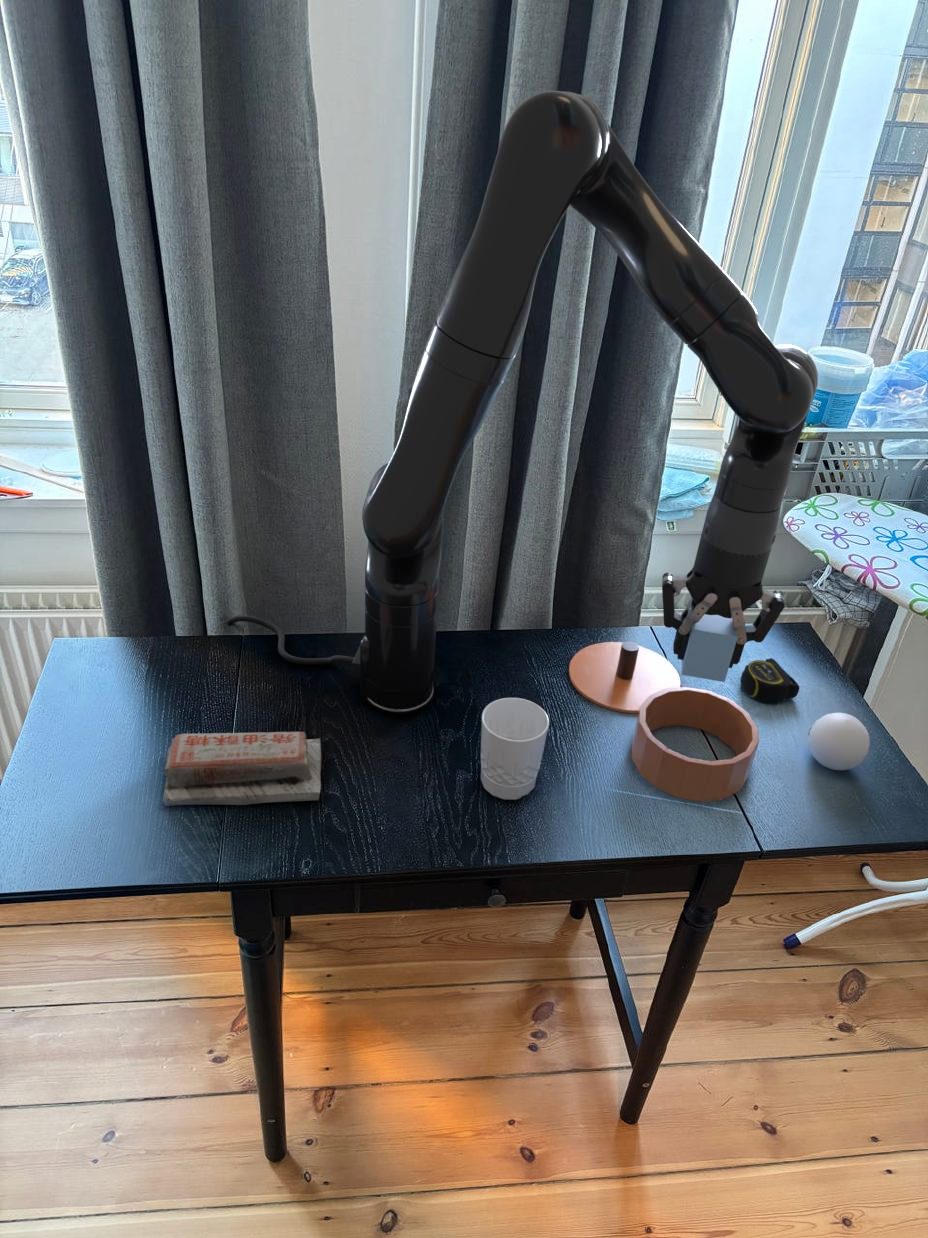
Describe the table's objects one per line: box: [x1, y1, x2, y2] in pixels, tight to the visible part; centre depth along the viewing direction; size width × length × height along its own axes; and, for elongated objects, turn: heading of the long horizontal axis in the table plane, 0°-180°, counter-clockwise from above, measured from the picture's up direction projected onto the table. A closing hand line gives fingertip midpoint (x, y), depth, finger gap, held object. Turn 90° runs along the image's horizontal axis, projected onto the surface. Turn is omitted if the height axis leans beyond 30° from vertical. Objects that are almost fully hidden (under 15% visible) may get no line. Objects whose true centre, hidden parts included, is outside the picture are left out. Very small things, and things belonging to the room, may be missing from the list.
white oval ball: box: [807, 708, 871, 771], centre depth 123 cm, size 10×7×7 cm
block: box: [681, 614, 738, 683], centre depth 112 cm, size 5×5×6 cm
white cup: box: [480, 697, 550, 801], centre depth 115 cm, size 8×8×10 cm
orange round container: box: [630, 686, 760, 803], centre depth 120 cm, size 15×15×6 cm
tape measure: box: [740, 657, 800, 705], centre depth 134 cm, size 7×7×4 cm
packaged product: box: [162, 731, 322, 807], centre depth 114 cm, size 18×5×10 cm
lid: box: [568, 640, 682, 714], centre depth 134 cm, size 16×16×6 cm
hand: (704, 659), depth 113 cm, fingers closed on block, 5 cm apart
